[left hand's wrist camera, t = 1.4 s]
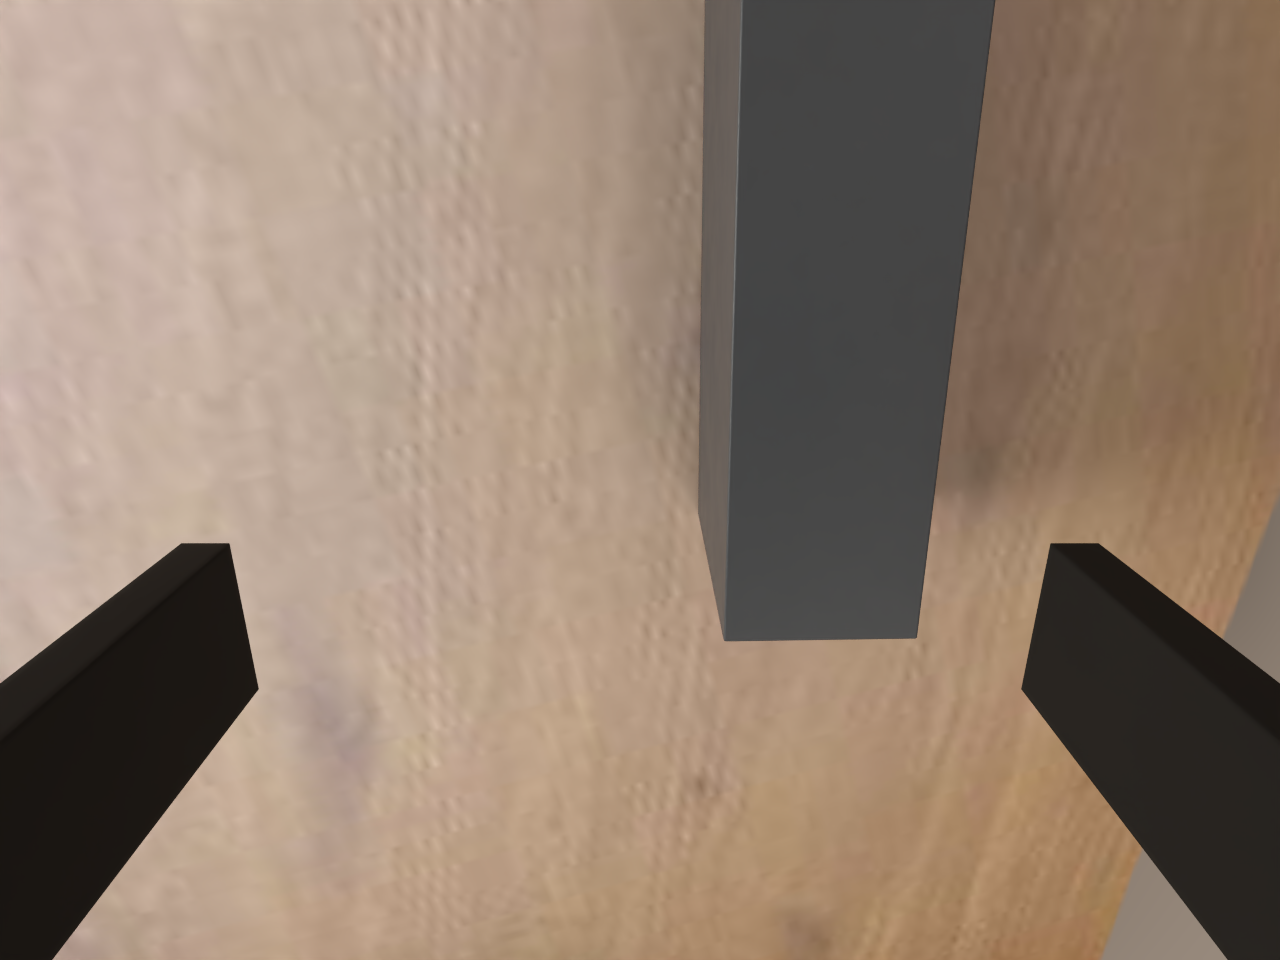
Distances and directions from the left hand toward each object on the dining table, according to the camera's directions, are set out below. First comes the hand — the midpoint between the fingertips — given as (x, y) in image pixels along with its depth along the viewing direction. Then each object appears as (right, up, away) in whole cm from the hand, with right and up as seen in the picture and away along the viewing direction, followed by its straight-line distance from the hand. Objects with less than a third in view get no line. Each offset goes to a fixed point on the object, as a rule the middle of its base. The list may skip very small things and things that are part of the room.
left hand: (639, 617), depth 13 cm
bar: (+5, +11, +13) cm, 18 cm away
